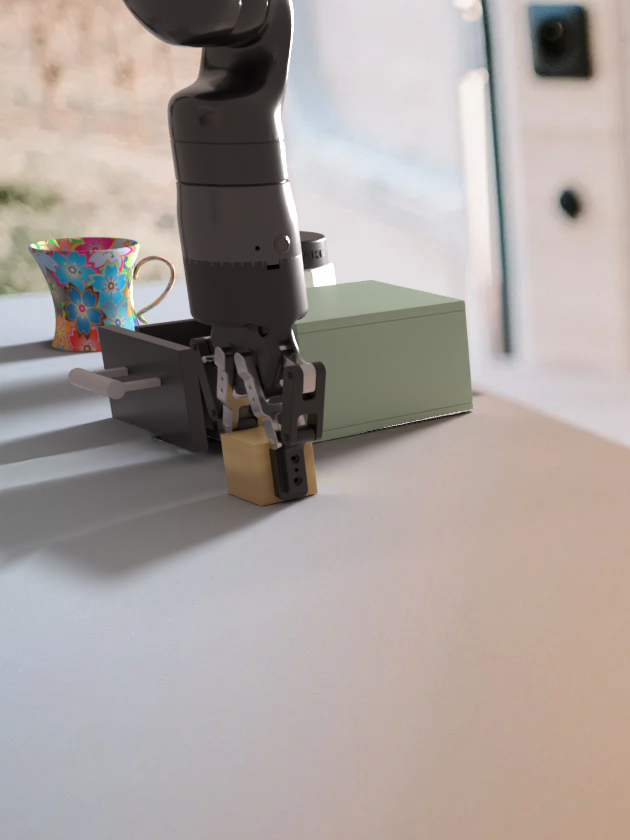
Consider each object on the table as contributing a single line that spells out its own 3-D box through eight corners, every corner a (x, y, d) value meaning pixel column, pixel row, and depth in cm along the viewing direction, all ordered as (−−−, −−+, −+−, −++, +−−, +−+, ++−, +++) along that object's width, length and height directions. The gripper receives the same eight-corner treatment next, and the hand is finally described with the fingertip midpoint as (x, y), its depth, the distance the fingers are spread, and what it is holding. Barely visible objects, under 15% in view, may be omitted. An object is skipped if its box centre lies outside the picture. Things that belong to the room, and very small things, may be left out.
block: (261, 506, 113) (253, 445, 112) (228, 493, 116) (219, 433, 114) (318, 493, 116) (311, 434, 115) (284, 481, 119) (277, 423, 117)
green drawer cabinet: (310, 443, 129) (296, 323, 125) (220, 413, 136) (204, 299, 133) (473, 411, 140) (465, 300, 137) (382, 385, 148) (372, 279, 144)
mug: (47, 370, 149) (26, 253, 145) (47, 350, 156) (28, 238, 152) (189, 361, 154) (173, 248, 150) (183, 342, 161) (168, 234, 158)
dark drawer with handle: (138, 463, 119) (121, 358, 116) (59, 432, 126) (41, 333, 123) (363, 420, 133) (354, 325, 130) (281, 394, 139) (269, 304, 137)
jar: (246, 375, 149) (228, 243, 145) (242, 357, 156) (225, 231, 152) (348, 369, 153) (334, 241, 148) (340, 352, 160) (326, 229, 155)
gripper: (135, 242, 111) (171, 481, 117) (246, 267, 103) (279, 523, 109) (238, 232, 116) (267, 461, 123) (351, 256, 108) (376, 500, 115)
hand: (273, 489), depth 116 cm, fingers closed on block, 4 cm apart
